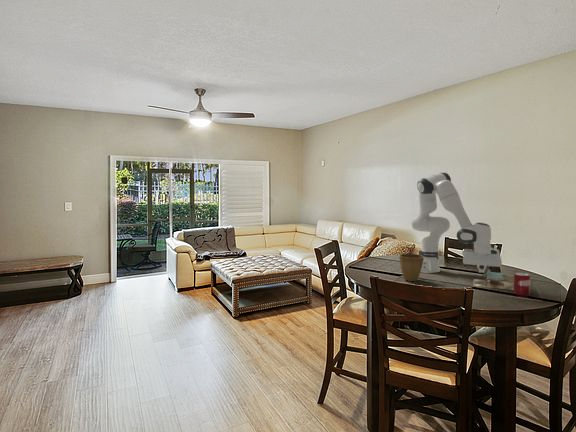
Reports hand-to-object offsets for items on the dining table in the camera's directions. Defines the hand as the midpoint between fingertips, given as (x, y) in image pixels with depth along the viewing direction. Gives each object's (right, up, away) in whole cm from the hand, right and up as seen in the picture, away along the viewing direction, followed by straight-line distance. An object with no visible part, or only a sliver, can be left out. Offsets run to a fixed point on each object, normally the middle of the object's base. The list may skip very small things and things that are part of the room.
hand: (481, 272), depth 202 cm
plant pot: (-37, -7, +14) cm, 41 cm away
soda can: (+9, -9, -21) cm, 25 cm away
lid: (+6, -2, -3) cm, 7 cm away
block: (+6, -7, -3) cm, 9 cm away
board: (+7, -8, -3) cm, 11 cm away
